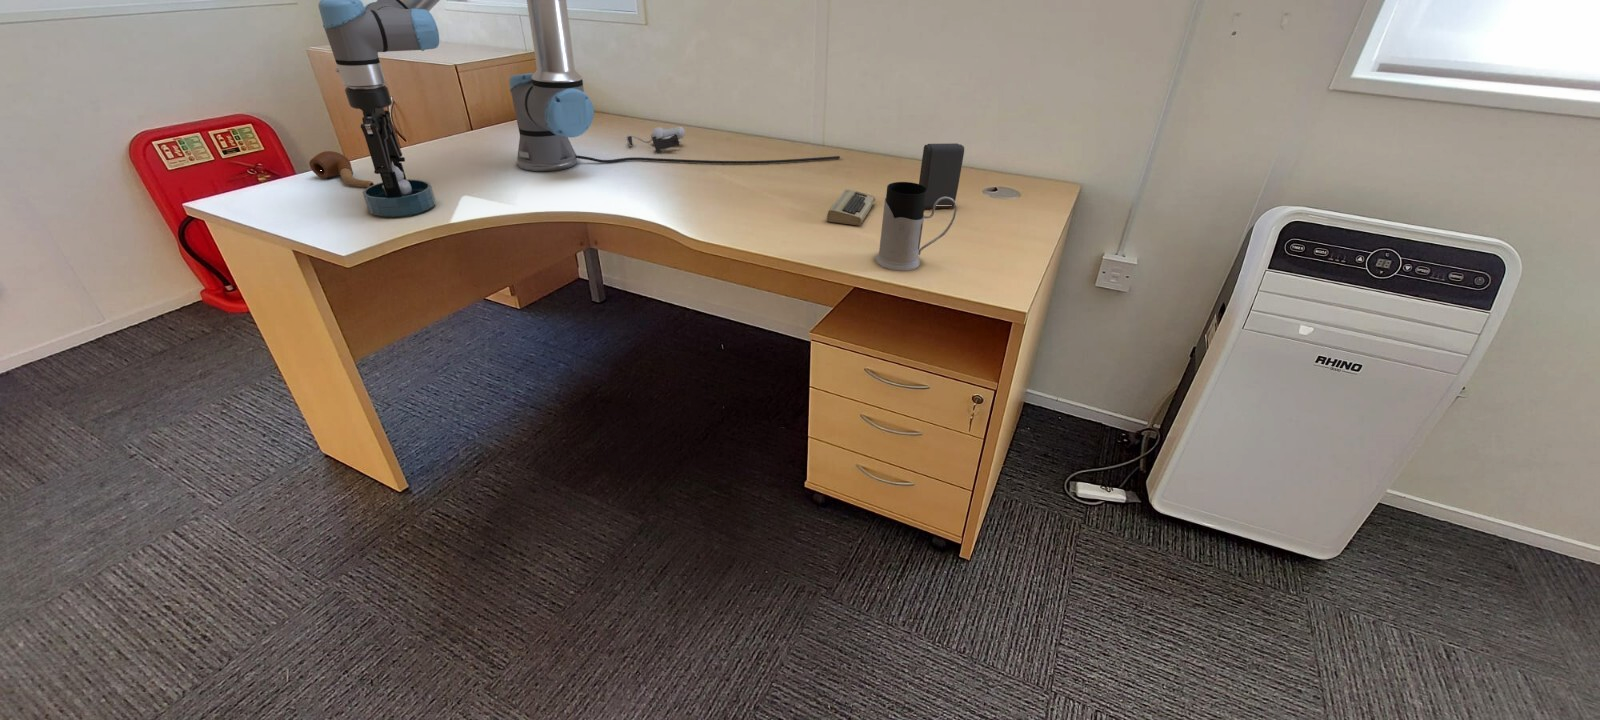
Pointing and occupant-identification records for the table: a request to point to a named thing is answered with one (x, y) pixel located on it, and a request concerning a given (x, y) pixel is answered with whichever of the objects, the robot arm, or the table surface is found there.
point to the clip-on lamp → (663, 138)
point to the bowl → (400, 200)
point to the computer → (850, 207)
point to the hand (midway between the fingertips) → (399, 196)
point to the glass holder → (904, 226)
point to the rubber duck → (401, 182)
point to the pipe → (335, 168)
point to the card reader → (941, 173)
